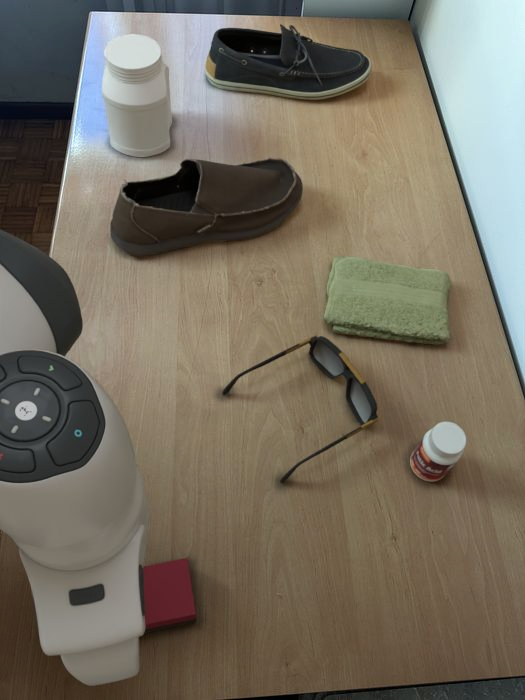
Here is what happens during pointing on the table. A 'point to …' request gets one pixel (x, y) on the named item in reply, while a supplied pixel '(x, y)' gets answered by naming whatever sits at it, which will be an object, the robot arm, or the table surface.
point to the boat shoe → (283, 64)
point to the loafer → (204, 205)
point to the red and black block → (168, 595)
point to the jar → (137, 96)
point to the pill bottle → (438, 451)
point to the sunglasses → (333, 366)
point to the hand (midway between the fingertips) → (111, 560)
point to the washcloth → (388, 301)
